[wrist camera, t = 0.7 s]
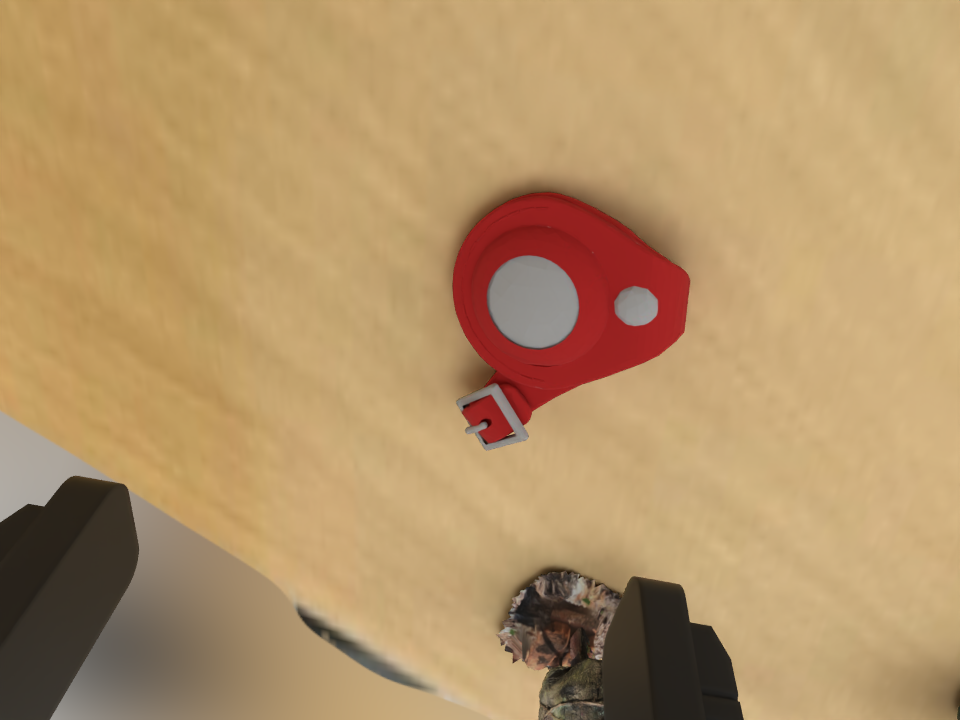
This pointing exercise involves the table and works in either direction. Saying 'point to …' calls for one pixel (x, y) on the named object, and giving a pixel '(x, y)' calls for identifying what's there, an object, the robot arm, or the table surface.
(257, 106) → the table surface
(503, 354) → the tracker holder
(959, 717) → the character mug
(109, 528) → the robot arm
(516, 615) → the plant with pod
